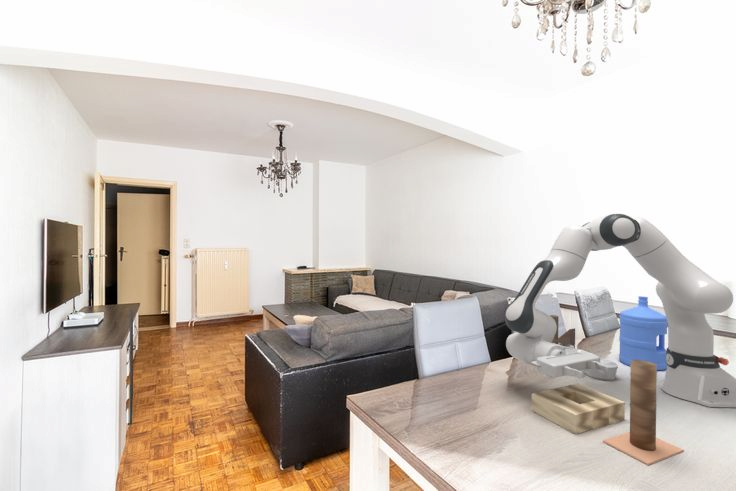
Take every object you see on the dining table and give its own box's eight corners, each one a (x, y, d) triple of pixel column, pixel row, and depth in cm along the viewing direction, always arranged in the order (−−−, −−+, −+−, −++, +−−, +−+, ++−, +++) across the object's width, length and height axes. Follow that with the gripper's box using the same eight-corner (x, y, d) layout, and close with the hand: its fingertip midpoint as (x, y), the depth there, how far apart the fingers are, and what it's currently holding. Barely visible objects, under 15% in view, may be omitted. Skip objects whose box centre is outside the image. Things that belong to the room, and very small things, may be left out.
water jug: (625, 367, 140) (626, 298, 140) (614, 356, 155) (615, 293, 155) (674, 373, 134) (675, 301, 134) (658, 361, 149) (658, 295, 149)
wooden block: (569, 363, 146) (570, 320, 145) (546, 355, 155) (546, 315, 155) (575, 361, 147) (575, 319, 147) (552, 354, 157) (552, 314, 157)
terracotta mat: (637, 430, 93) (637, 429, 93) (683, 451, 83) (683, 449, 83) (602, 441, 87) (602, 440, 87) (648, 465, 78) (648, 463, 78)
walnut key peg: (648, 440, 87) (649, 360, 87) (660, 452, 82) (661, 367, 82) (625, 438, 88) (626, 359, 88) (636, 449, 83) (637, 365, 83)
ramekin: (618, 384, 124) (618, 369, 124) (581, 377, 130) (582, 363, 130) (616, 374, 134) (616, 360, 134) (582, 368, 140) (582, 355, 140)
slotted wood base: (577, 399, 111) (577, 383, 111) (624, 419, 98) (624, 402, 98) (531, 410, 103) (531, 393, 103) (575, 434, 91) (575, 415, 91)
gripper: (526, 351, 105) (568, 366, 92) (573, 344, 113) (618, 356, 100) (526, 372, 105) (568, 390, 92) (573, 363, 113) (618, 378, 100)
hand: (595, 372), depth 96 cm, fingers open, 8 cm apart
